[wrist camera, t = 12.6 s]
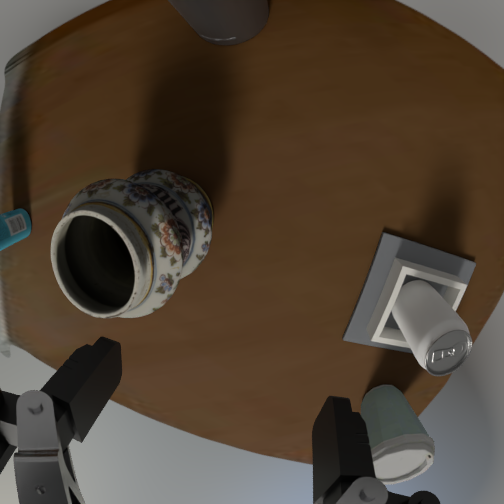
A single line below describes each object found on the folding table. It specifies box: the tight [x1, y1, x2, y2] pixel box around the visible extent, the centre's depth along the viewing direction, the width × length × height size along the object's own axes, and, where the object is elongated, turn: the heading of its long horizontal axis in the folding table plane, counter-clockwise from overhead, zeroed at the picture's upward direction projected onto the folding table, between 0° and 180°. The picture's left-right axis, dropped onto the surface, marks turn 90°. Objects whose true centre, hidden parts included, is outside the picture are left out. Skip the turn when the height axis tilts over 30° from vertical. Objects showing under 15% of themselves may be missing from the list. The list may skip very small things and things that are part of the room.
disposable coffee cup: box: [361, 385, 435, 485], centre depth 35 cm, size 11×11×15 cm
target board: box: [342, 232, 476, 353], centre depth 35 cm, size 15×15×4 cm
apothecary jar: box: [51, 169, 213, 318], centre depth 29 cm, size 12×12×18 cm
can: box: [392, 280, 472, 376], centre depth 31 cm, size 6×6×12 cm
